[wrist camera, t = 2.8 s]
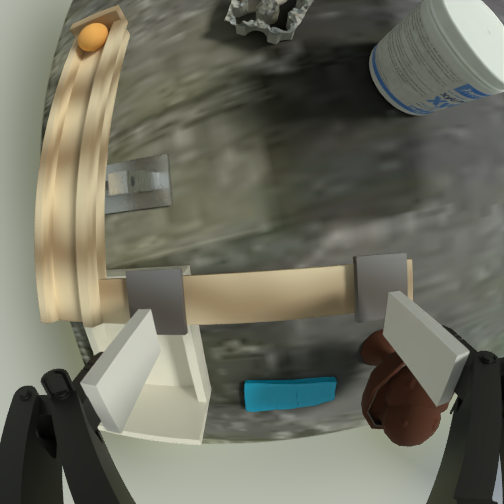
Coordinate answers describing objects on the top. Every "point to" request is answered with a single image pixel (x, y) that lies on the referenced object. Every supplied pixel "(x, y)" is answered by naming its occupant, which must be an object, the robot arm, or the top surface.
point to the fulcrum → (138, 184)
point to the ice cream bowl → (396, 396)
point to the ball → (93, 37)
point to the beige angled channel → (160, 280)
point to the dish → (165, 382)
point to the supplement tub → (440, 56)
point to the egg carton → (267, 18)
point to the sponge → (288, 393)
